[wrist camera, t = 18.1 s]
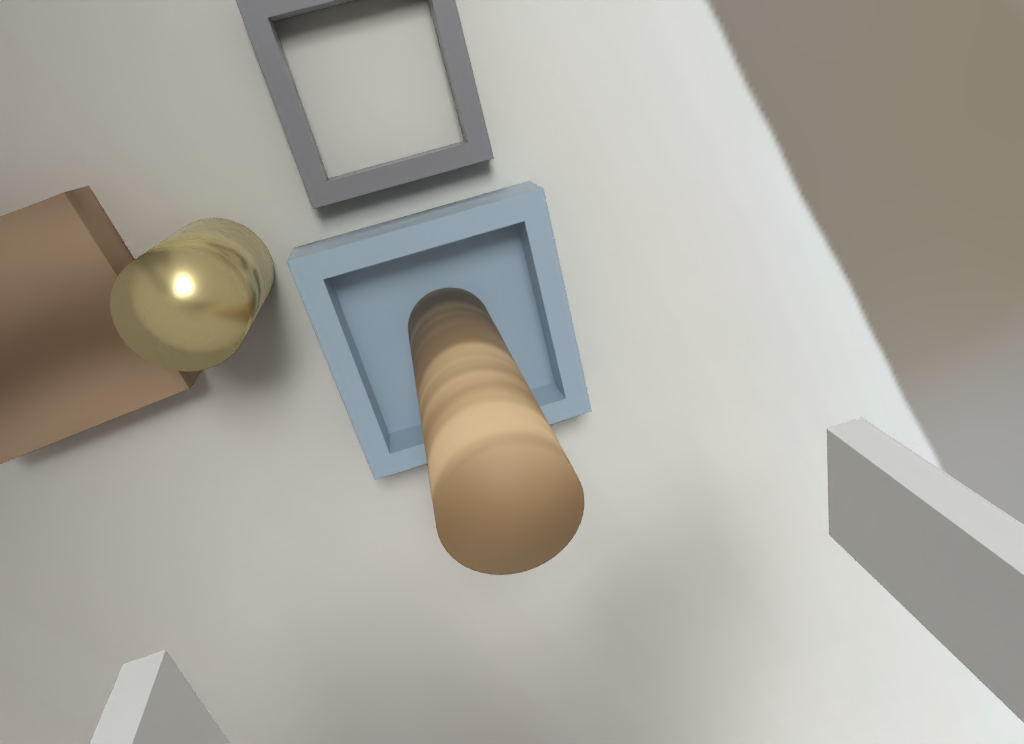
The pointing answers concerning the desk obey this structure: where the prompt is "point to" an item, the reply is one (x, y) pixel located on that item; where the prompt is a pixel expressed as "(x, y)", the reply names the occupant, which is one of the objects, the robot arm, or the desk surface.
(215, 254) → the cylinder
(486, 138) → the holder
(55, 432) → the flat cardboard box
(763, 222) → the desk surface
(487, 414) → the dowel
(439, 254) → the tray
